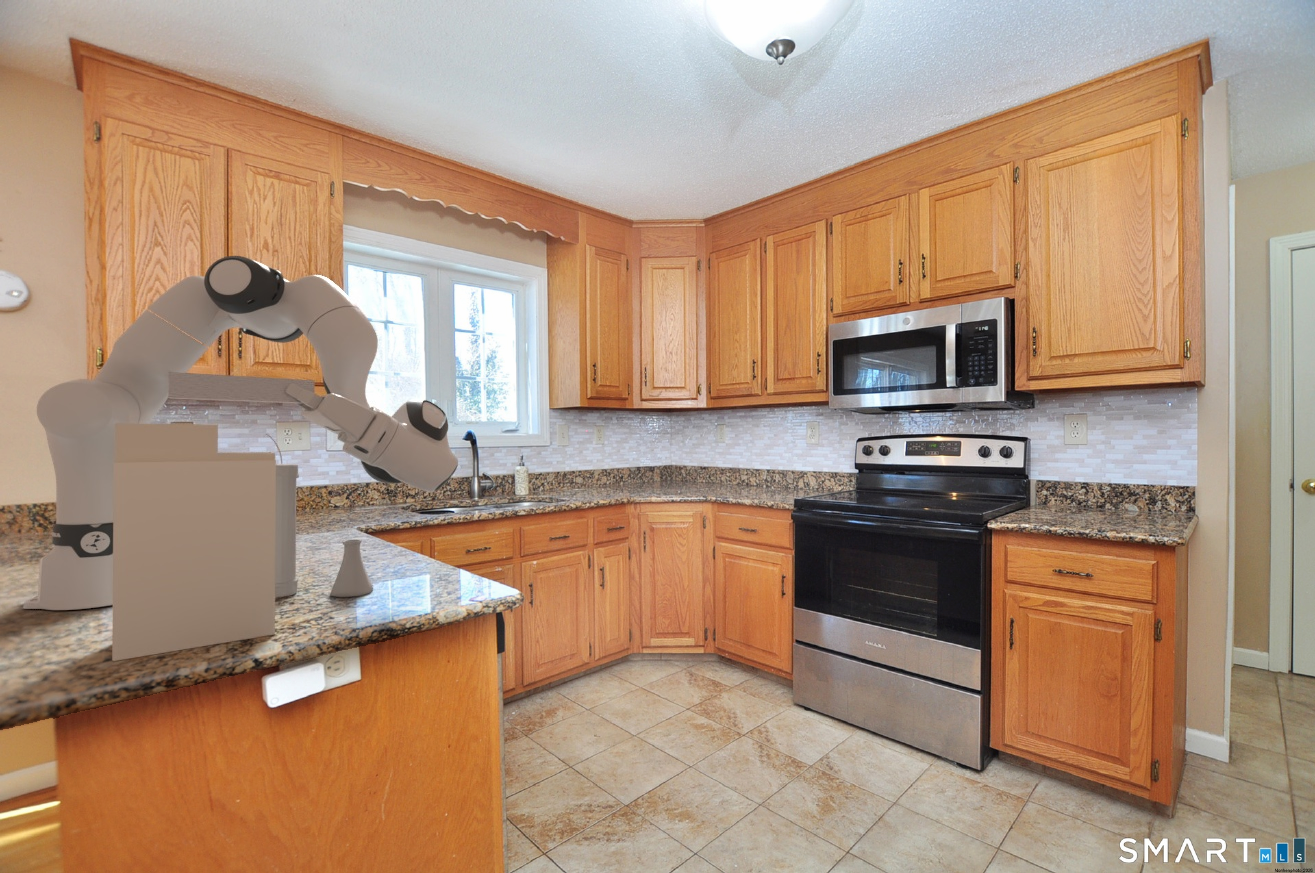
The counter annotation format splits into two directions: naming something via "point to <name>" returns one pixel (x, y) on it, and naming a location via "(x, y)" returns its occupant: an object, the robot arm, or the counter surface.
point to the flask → (351, 573)
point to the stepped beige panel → (190, 540)
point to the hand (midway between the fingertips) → (285, 388)
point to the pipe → (285, 529)
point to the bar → (233, 388)
